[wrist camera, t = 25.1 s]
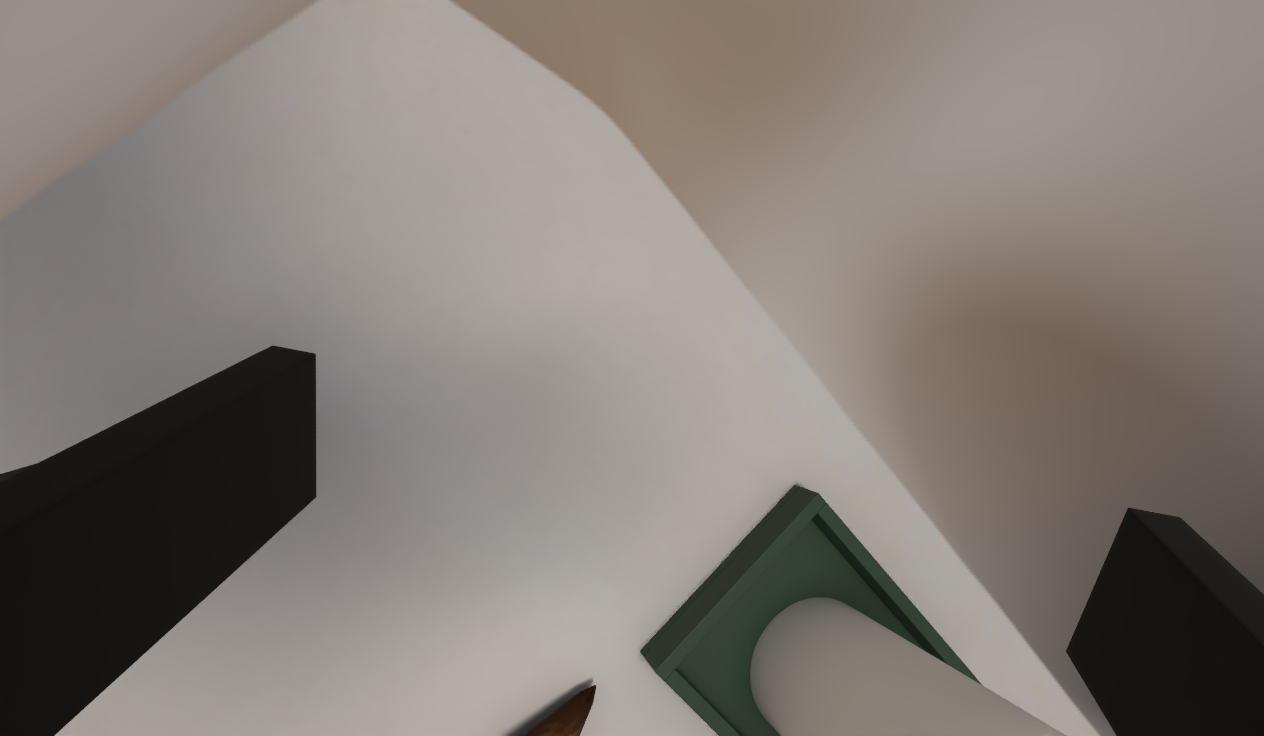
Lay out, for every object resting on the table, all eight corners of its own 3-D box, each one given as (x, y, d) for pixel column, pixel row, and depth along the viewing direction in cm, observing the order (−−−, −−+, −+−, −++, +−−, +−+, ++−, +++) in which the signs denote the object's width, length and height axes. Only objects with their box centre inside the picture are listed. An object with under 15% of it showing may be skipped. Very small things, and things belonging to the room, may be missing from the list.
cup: (799, 764, 44) (1011, 993, 28) (723, 664, 42) (904, 849, 27) (896, 667, 45) (1145, 834, 30) (826, 568, 44) (1052, 690, 28)
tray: (639, 651, 41) (654, 671, 39) (795, 484, 43) (818, 492, 41) (820, 832, 45) (845, 861, 42) (954, 669, 47) (984, 687, 45)
